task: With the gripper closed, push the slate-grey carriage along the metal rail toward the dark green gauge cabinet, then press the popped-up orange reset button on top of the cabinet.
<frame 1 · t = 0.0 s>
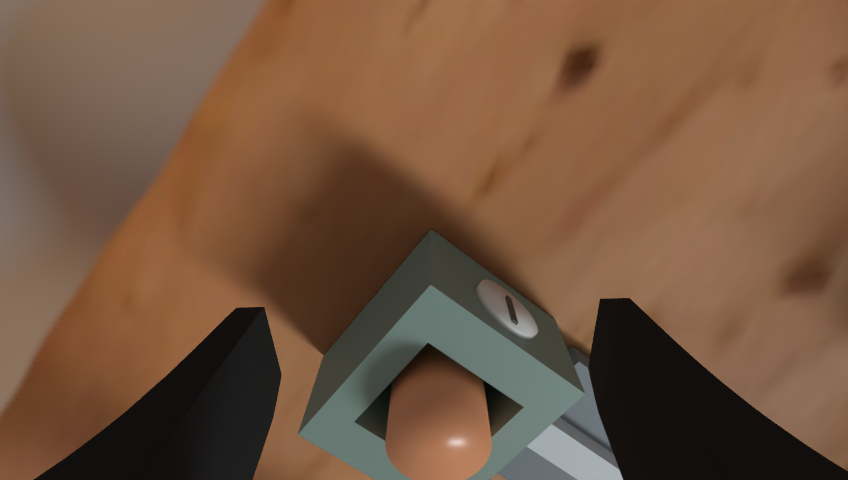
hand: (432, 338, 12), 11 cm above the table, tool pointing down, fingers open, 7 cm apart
reset button: (437, 403, 20), point 4 cm above the table, slide at 0.0 cm
gauge cabinet: (437, 338, 24), on the table
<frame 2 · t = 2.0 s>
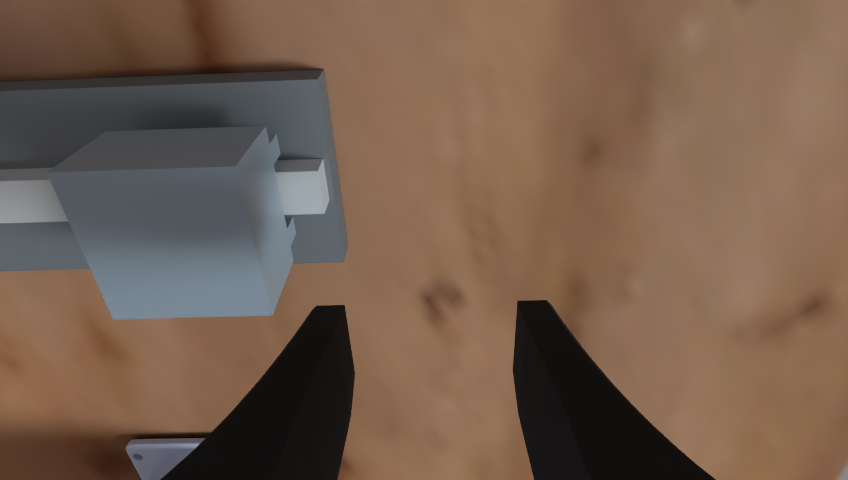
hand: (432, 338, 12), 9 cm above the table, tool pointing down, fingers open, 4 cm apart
rail base: (72, 174, 20), on the table
carriage: (194, 216, 17), point 4 cm above the table, slide at 0.0 cm
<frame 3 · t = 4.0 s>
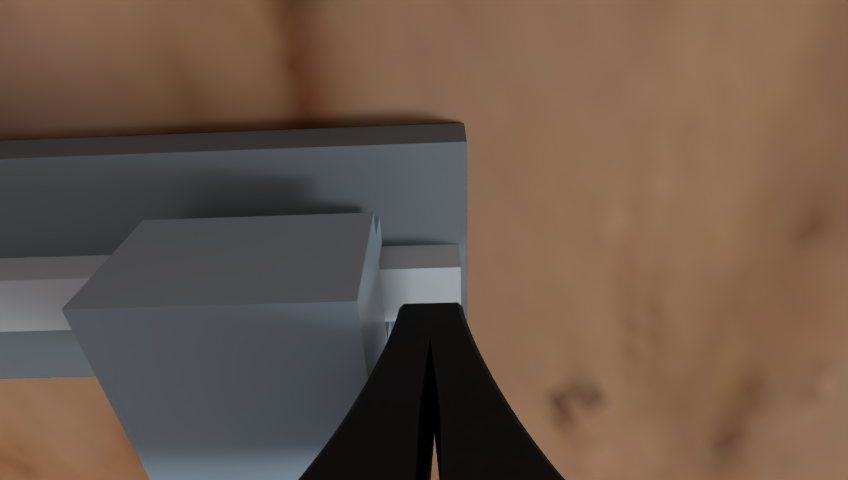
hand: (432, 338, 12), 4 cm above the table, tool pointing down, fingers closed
rail base: (109, 255, 15), on the table
carriage: (267, 337, 12), point 4 cm above the table, slide at 0.6 cm, touching gripper
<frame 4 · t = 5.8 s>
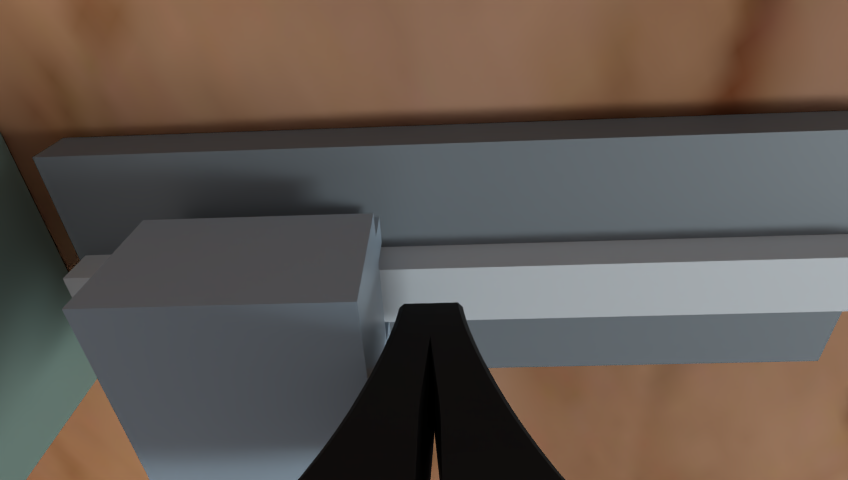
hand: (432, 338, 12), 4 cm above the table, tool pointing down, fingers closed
rail base: (467, 245, 15), on the table
carriage: (267, 337, 12), point 4 cm above the table, slide at 10.6 cm, touching gripper
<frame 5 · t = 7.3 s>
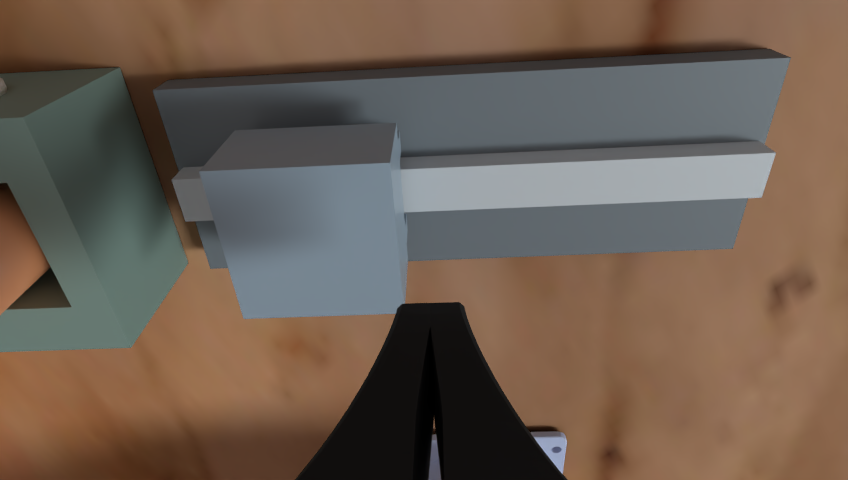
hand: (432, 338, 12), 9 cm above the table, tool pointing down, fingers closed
gauge cabinet: (67, 179, 20), on the table
rail base: (463, 161, 20), on the table
carriage: (321, 214, 17), point 4 cm above the table, slide at 10.7 cm
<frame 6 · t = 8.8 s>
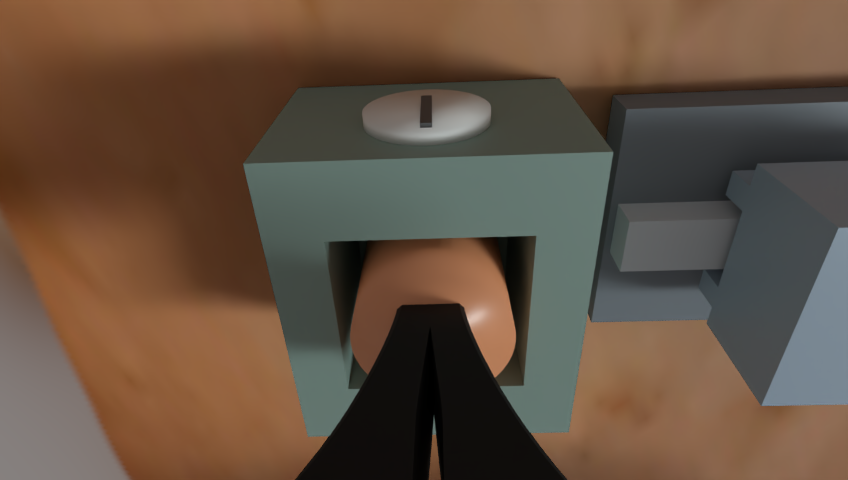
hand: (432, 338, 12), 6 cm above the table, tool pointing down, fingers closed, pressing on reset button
reset button: (432, 283, 13), point 4 cm above the table, slide at 0.8 cm, touching gripper
gauge cabinet: (432, 213, 16), on the table
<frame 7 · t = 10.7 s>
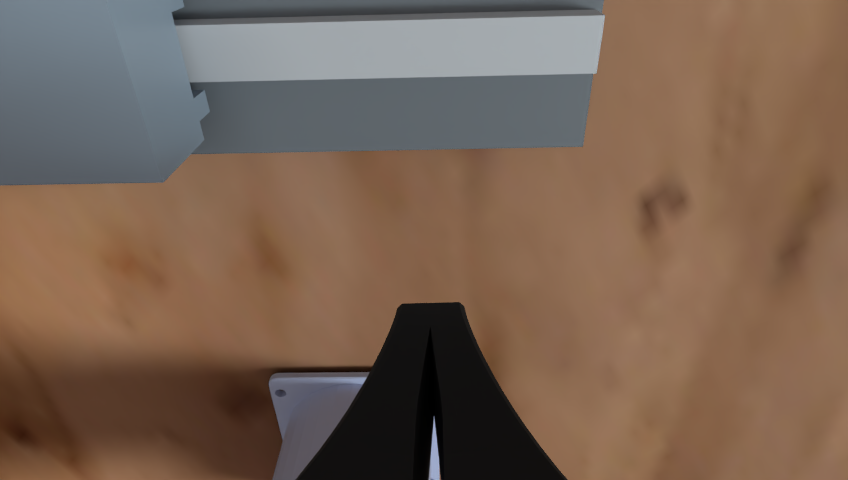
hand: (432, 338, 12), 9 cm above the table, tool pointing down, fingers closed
rail base: (278, 37, 17), on the table
carriage: (76, 68, 14), point 4 cm above the table, slide at 10.7 cm
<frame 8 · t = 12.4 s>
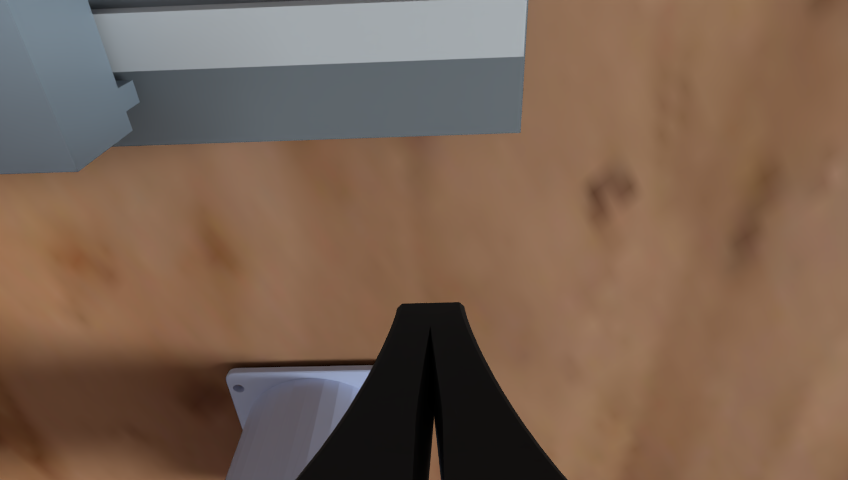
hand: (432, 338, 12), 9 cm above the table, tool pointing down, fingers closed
rail base: (209, 26, 17), on the table
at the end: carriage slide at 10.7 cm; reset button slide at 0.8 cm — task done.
